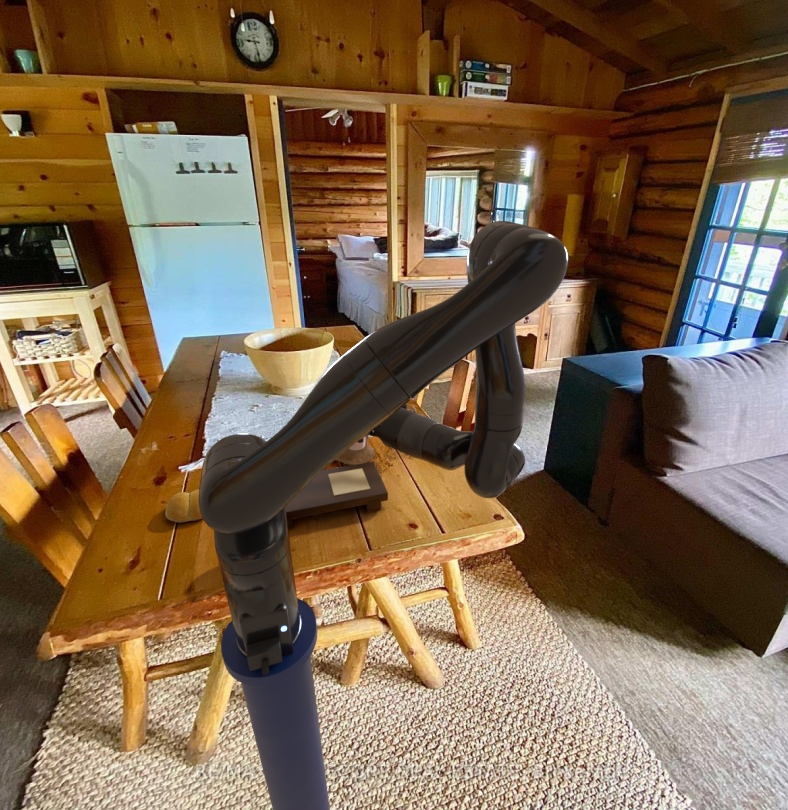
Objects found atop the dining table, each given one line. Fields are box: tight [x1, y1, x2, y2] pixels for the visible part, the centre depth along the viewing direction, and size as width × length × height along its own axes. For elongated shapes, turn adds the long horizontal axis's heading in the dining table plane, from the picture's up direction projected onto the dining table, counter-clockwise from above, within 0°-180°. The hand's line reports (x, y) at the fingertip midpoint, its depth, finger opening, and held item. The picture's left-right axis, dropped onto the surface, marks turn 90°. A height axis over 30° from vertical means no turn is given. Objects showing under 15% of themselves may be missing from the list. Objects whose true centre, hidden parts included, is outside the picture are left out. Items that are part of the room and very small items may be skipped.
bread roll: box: [164, 489, 203, 523], centre depth 90 cm, size 8×9×4 cm
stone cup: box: [334, 435, 376, 466], centre depth 108 cm, size 15×12×15 cm
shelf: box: [285, 461, 389, 529], centre depth 93 cm, size 12×24×4 cm, turn 109°
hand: (345, 407), depth 87 cm, fingers closed on smoothie, 6 cm apart
